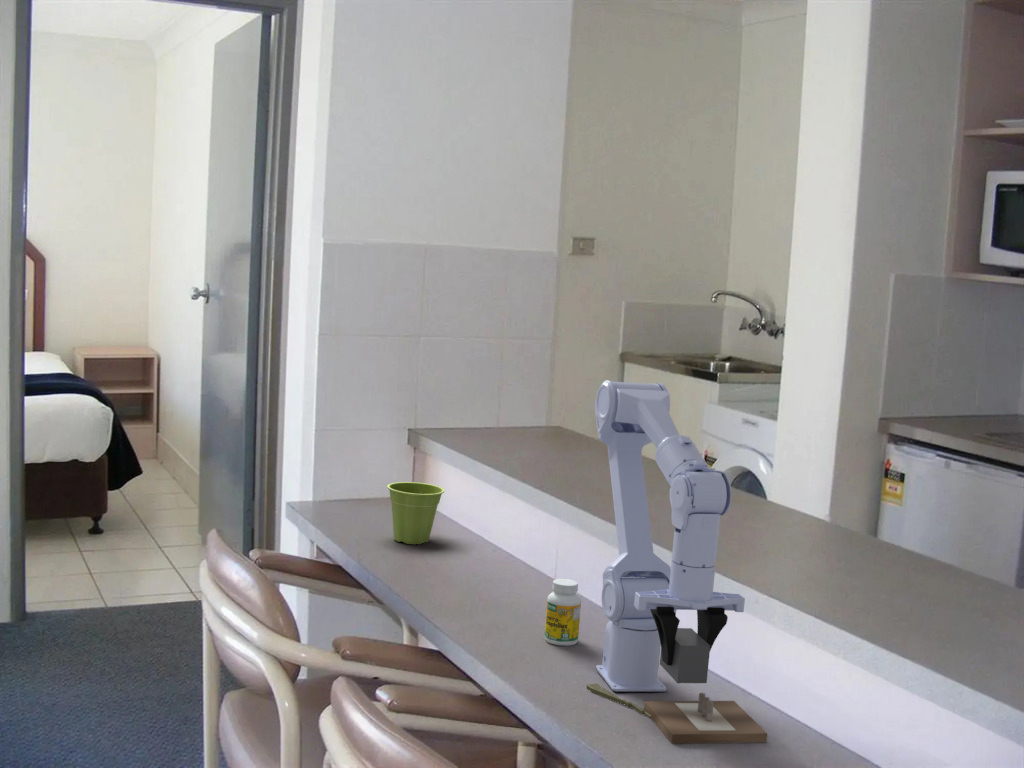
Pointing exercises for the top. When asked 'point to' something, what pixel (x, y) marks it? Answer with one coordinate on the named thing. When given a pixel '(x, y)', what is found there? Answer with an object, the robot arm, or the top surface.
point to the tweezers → (614, 697)
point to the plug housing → (688, 658)
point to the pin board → (704, 721)
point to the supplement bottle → (563, 613)
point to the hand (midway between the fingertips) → (683, 663)
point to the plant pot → (413, 510)
